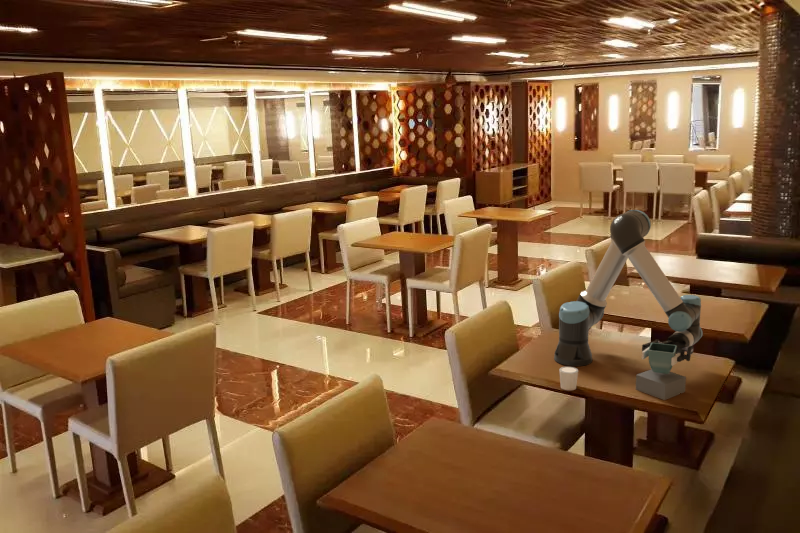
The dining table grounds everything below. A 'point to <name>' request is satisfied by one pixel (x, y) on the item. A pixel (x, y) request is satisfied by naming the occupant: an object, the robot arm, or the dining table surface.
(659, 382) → the charcoal stand
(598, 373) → the dining table surface
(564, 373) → the shot glass
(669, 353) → the flower pot
